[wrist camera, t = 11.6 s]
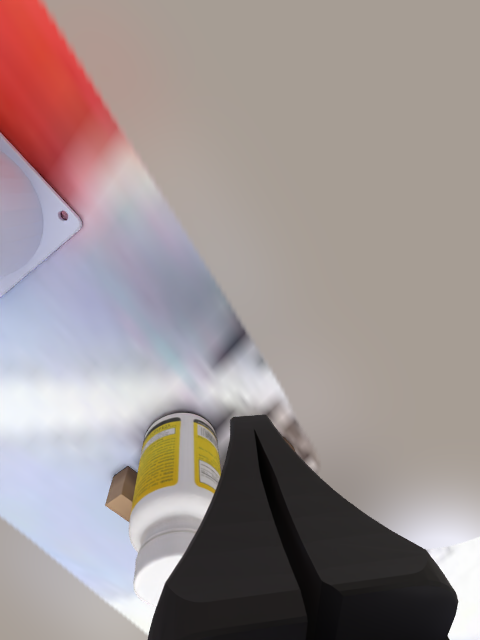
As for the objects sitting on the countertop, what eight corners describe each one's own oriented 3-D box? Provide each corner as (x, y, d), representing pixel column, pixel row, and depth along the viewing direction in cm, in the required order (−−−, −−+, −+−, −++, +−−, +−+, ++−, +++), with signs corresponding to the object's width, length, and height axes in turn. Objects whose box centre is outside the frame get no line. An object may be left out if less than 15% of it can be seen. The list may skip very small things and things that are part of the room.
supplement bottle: (137, 463, 25) (107, 617, 16) (151, 404, 23) (126, 539, 14) (207, 471, 26) (215, 618, 17) (225, 416, 25) (245, 547, 16)
